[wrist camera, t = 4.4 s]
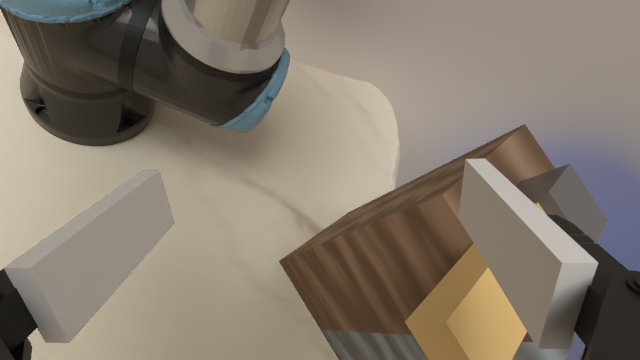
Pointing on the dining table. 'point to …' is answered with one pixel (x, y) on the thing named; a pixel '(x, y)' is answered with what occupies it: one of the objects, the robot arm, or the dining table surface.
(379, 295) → the stand
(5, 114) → the dining table surface
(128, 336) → the dining table surface
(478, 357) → the block
